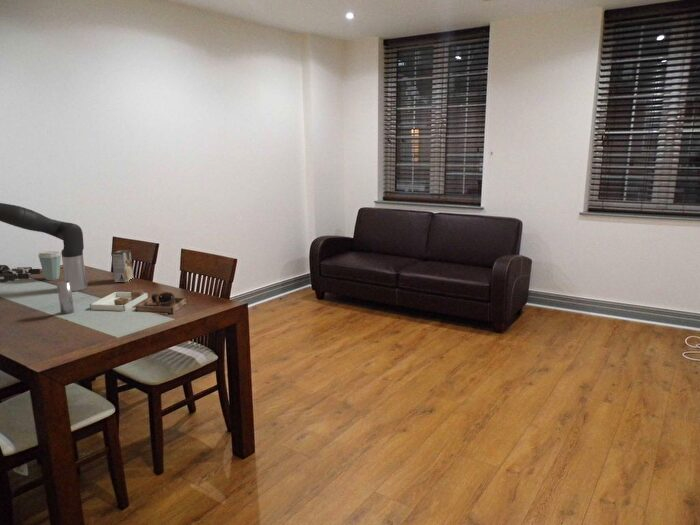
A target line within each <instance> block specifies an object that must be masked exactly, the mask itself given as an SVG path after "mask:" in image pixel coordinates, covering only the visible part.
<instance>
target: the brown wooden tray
mask: <svg viewBox="0 0 700 525" xmlns="http://www.w3.org/2000/svg"><path fill="white" fill-rule="evenodd" d="M175 297H176V296H175ZM171 299H172V297H171ZM175 301H176V303H175V304H173V305H172V306H171V307H158V306H157V305H156V306H153V305H151V306H149V305H150V304H152V303H153V302H154V301H153V300H152V298H151V297H148V298H146V299H145V300H143V301H141V302H140V303H138V304H136V305H135V311H136V312H155V313H157V312H158V313H174V312H175V311H176V310H178V309H179V308H180V307H182V306H183V305H184V304H186V303H187V304H188V298H187V297H176V298H175ZM182 308H183V307H182ZM178 311H179V310H178ZM175 313H176V312H175ZM175 313H174V314H175Z"/></svg>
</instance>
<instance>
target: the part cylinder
mask: <svg viewBox="0 0 700 525" xmlns="http://www.w3.org/2000/svg"><path fill="white" fill-rule="evenodd" d="M56 285H57V286H56V288H57V295H58V303H59V310H60V314H61V315H71V314H74V313H75V307H74V299H73V291H72V290H71V282H70V281H65V280H63V281H58V282H56Z"/></svg>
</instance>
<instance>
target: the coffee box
mask: <svg viewBox="0 0 700 525" xmlns="http://www.w3.org/2000/svg"><path fill="white" fill-rule="evenodd" d="M111 261H112V270H113V271H112V272H113V278H114V279H113V280H114V283H115V282H127V281H128V282H130V281H131V280H130V279H132V278H133V279H135V276H134V271H133V270H134V269H133V259H132V250H131V249H119V250H116V251H114V252H111ZM133 279H132V280H133ZM129 280H130V281H129ZM128 282H127V283H128Z"/></svg>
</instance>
